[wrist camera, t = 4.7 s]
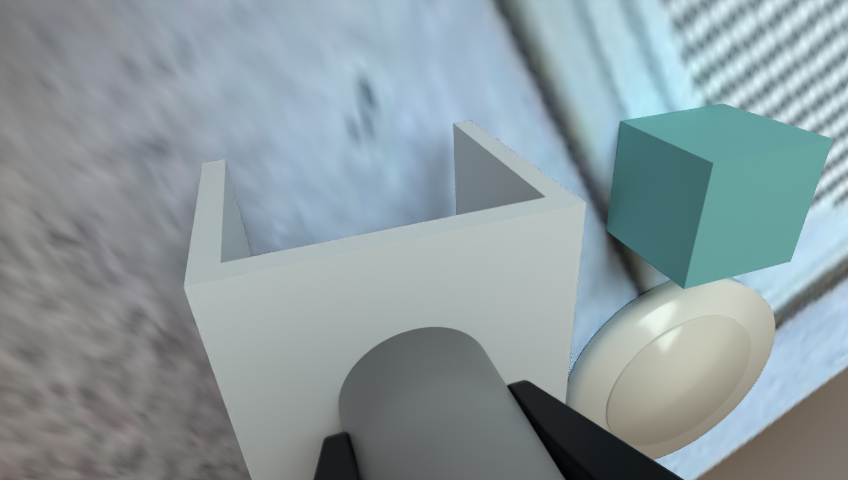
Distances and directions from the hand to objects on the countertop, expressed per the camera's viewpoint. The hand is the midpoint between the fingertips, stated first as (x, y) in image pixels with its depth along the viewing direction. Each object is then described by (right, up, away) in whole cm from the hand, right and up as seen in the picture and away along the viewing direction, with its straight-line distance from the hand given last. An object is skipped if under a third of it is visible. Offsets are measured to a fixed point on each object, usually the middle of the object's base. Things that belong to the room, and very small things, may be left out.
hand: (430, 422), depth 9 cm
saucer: (+11, -3, +14) cm, 18 cm away
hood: (-2, +3, +5) cm, 6 cm away
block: (+8, +6, +9) cm, 13 cm away
